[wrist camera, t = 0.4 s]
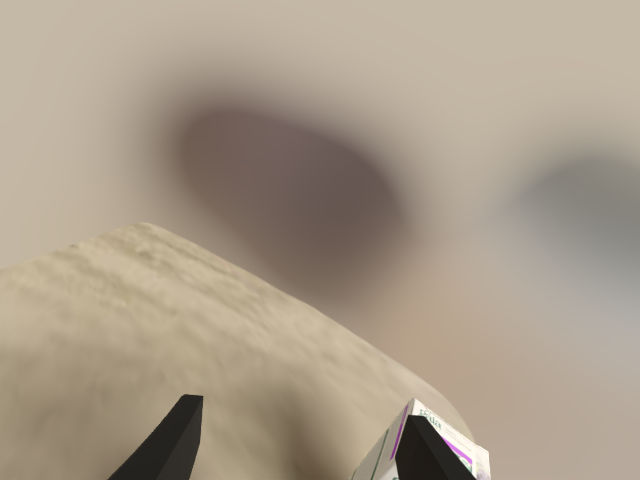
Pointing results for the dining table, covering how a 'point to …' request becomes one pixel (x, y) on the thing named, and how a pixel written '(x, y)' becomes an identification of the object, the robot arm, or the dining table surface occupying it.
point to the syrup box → (379, 465)
